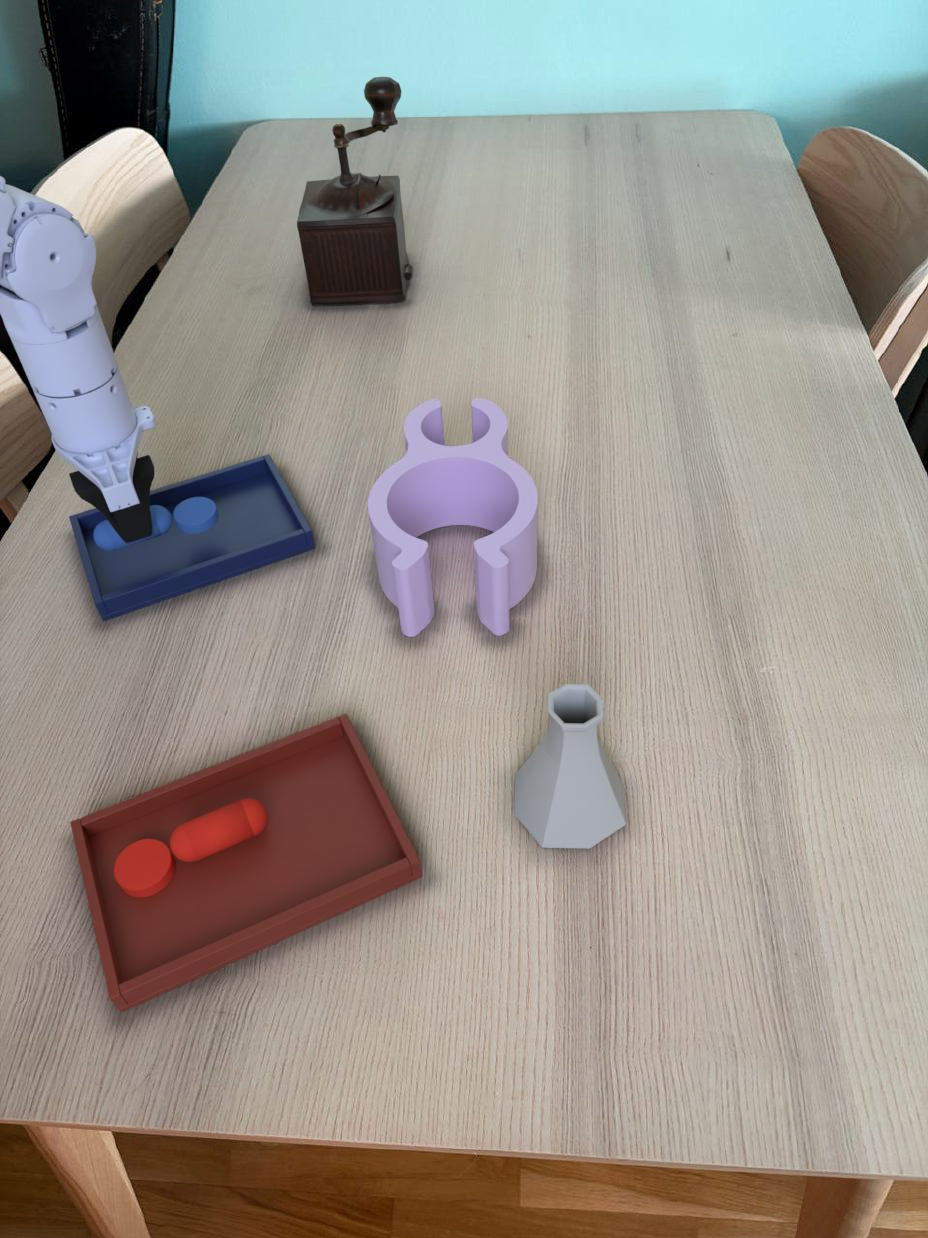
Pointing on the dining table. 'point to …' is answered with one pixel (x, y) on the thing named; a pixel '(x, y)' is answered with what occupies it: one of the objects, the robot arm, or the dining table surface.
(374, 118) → the manual coffee grinder
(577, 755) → the flask
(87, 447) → the robot arm
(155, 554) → the blue tray
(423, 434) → the clip
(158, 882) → the red disc-ended bar
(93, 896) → the red tray
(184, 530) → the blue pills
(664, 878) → the dining table surface
